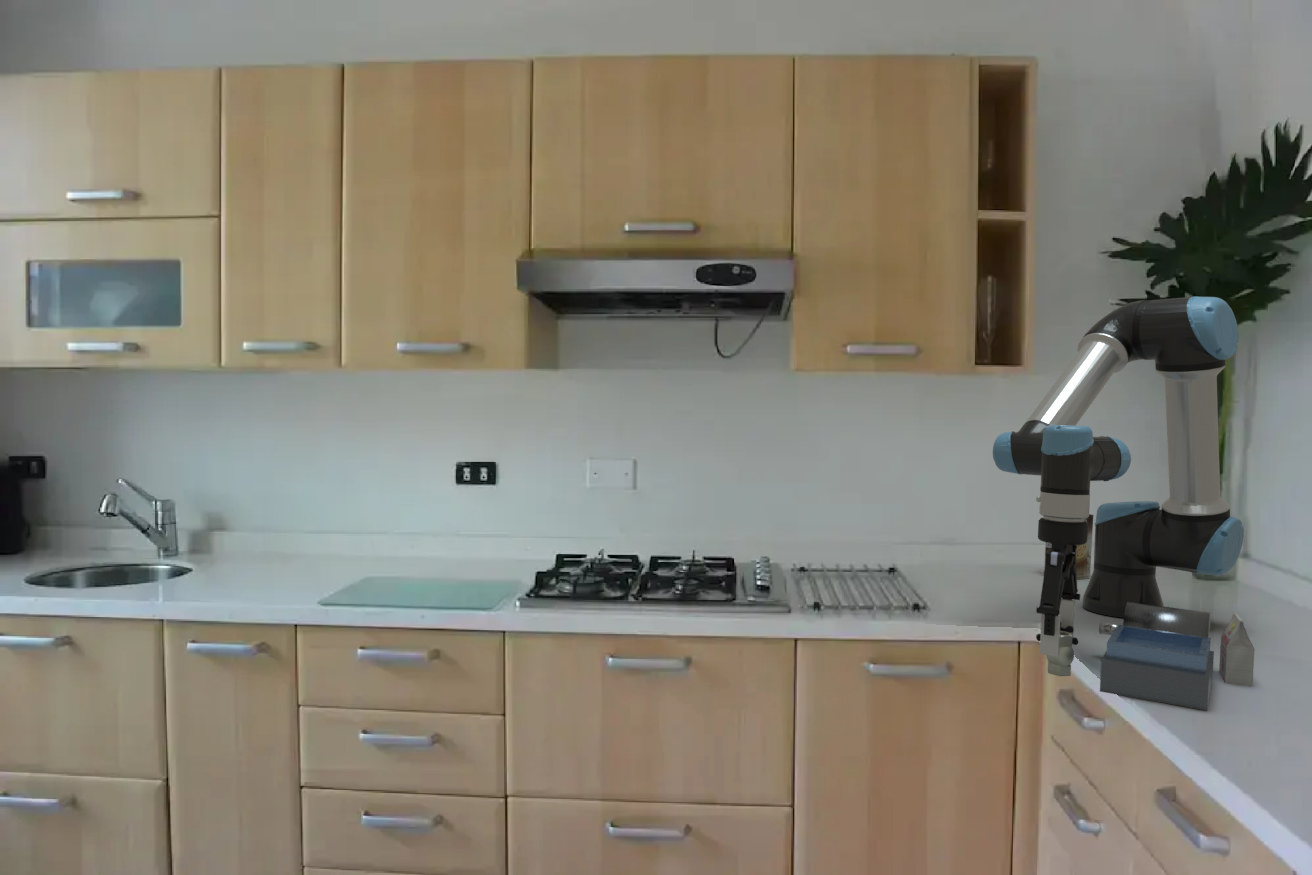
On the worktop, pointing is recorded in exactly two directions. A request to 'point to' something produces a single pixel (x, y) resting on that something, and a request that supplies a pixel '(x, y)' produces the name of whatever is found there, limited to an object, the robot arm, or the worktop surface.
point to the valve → (1062, 653)
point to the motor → (1159, 656)
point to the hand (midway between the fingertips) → (1056, 645)
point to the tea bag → (1236, 654)
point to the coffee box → (1081, 553)
